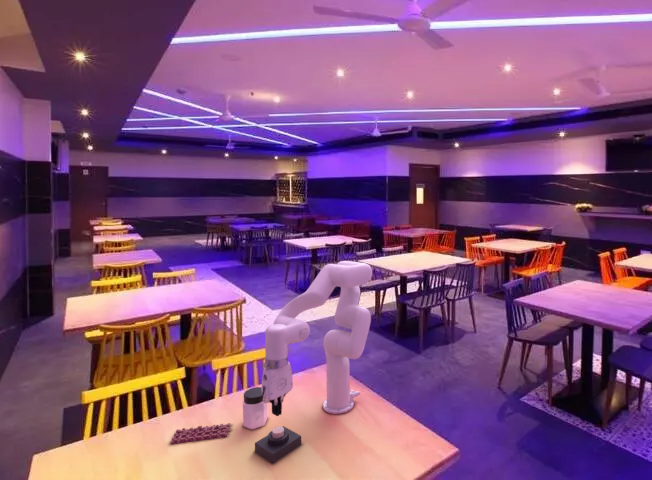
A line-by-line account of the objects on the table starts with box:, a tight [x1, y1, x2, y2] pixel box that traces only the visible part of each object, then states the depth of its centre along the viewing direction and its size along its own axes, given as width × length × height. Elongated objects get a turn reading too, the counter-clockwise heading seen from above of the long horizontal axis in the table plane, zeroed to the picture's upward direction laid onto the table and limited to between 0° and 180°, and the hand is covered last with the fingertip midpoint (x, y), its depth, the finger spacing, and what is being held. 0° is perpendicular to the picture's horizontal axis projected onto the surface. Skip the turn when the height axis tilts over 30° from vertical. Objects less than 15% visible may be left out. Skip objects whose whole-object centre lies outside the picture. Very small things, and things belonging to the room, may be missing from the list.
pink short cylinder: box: [271, 425, 284, 439], centre depth 138 cm, size 4×4×2 cm
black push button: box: [254, 425, 302, 464], centre depth 138 cm, size 12×10×5 cm
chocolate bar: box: [170, 422, 231, 445], centre depth 146 cm, size 7×19×2 cm, turn 103°
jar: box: [242, 386, 268, 430], centre depth 153 cm, size 9×8×12 cm
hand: (276, 413), depth 138 cm, fingers closed
